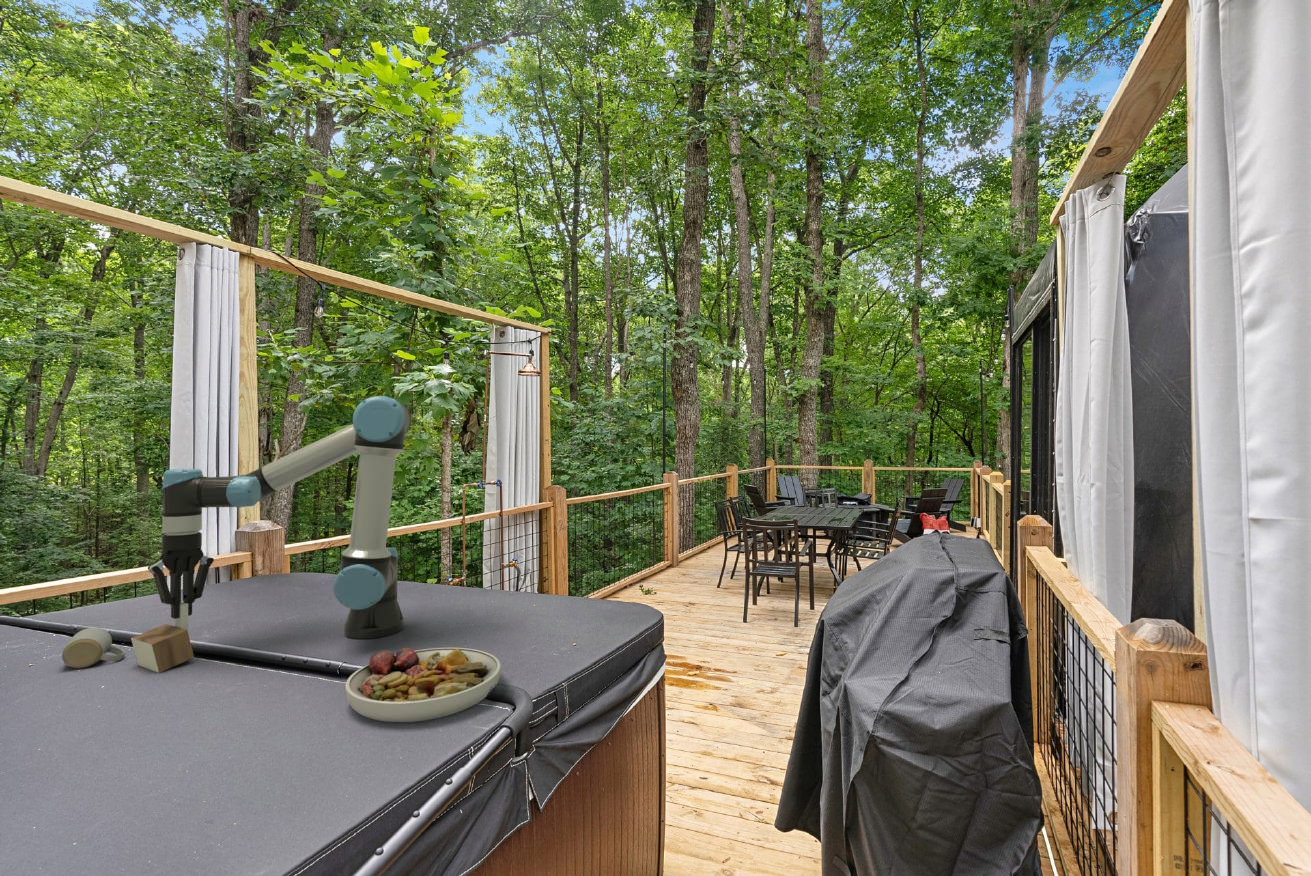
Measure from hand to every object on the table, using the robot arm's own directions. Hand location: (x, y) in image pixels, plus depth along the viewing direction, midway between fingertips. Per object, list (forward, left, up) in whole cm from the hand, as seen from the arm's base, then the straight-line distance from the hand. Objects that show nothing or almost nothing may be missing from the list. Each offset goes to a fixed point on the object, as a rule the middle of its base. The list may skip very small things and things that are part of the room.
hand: (181, 630), depth 143 cm
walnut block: (0, 0, -2) cm, 2 cm away
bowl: (-68, -14, -8) cm, 70 cm away
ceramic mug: (+17, +11, -7) cm, 21 cm away
